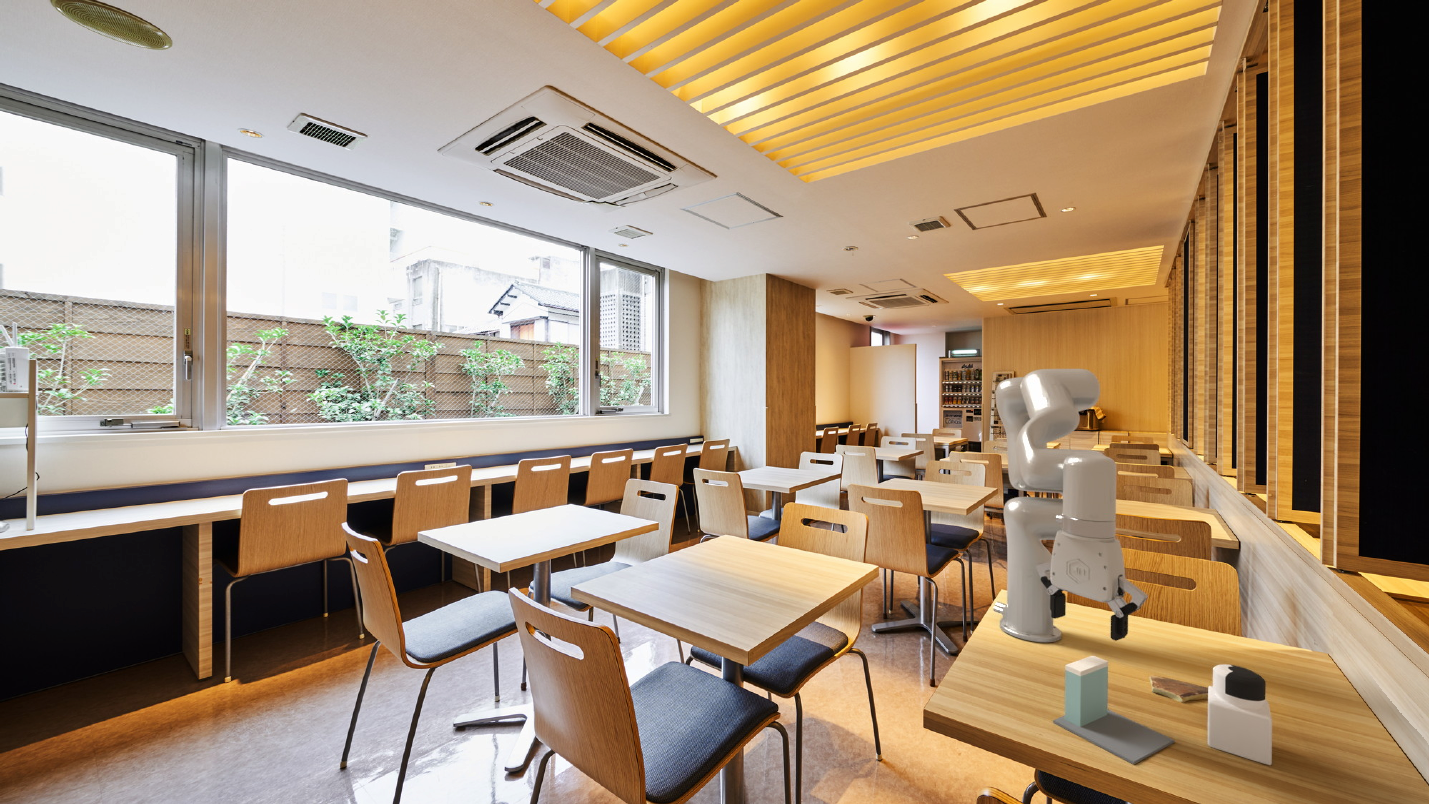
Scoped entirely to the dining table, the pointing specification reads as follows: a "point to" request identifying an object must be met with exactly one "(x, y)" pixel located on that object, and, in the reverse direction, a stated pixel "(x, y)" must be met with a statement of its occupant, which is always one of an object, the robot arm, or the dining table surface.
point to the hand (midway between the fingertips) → (1086, 627)
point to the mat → (1119, 736)
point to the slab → (1086, 690)
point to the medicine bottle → (1239, 714)
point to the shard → (1178, 689)
